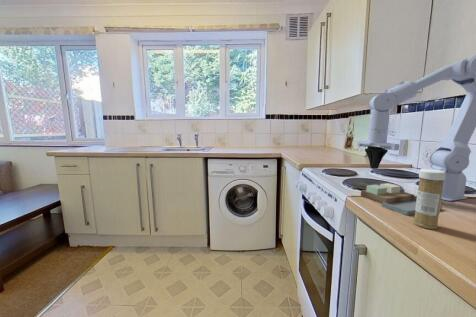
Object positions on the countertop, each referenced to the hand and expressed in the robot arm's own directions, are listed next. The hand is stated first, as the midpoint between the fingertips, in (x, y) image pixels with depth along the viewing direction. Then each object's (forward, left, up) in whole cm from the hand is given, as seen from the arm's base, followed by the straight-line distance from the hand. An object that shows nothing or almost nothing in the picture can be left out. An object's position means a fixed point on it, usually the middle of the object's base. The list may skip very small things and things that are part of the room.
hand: (374, 168), depth 80 cm
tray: (+3, +16, -8) cm, 18 cm away
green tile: (+6, +7, -6) cm, 11 cm away
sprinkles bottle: (+12, +25, -9) cm, 29 cm away
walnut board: (+2, +8, -8) cm, 12 cm away
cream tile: (0, +7, -6) cm, 9 cm away
